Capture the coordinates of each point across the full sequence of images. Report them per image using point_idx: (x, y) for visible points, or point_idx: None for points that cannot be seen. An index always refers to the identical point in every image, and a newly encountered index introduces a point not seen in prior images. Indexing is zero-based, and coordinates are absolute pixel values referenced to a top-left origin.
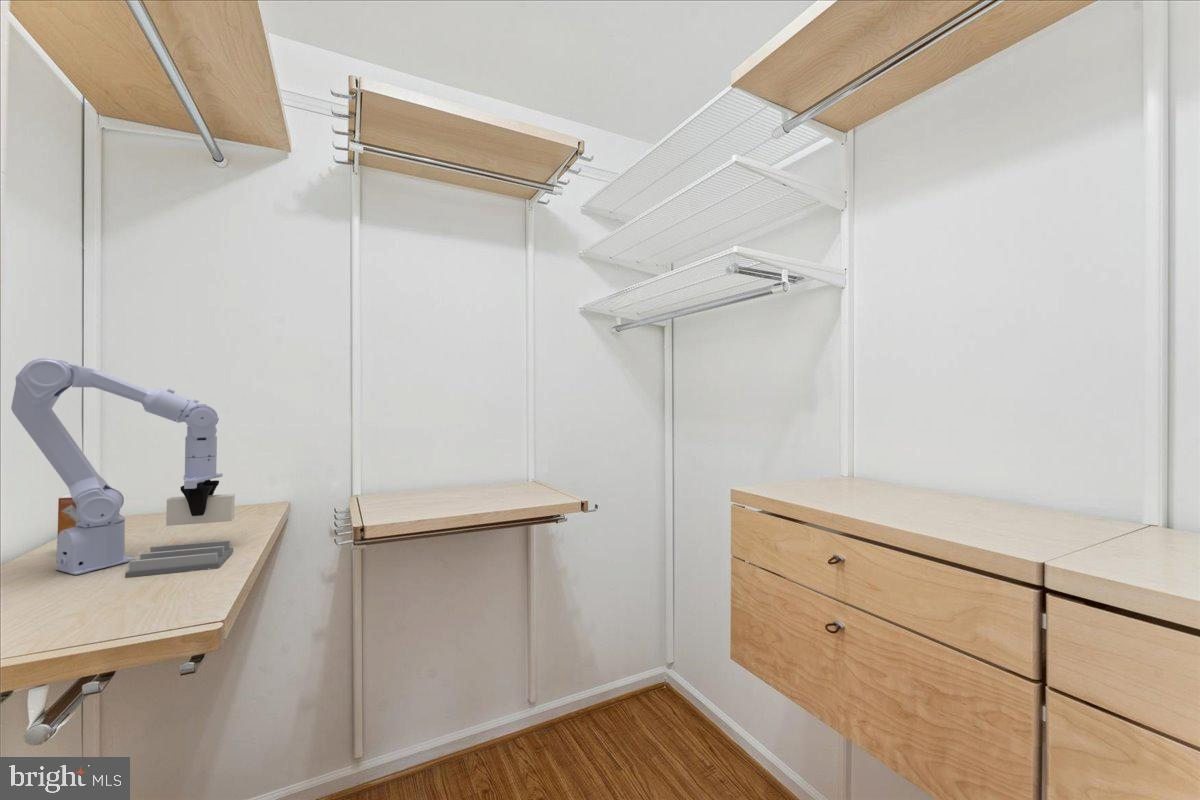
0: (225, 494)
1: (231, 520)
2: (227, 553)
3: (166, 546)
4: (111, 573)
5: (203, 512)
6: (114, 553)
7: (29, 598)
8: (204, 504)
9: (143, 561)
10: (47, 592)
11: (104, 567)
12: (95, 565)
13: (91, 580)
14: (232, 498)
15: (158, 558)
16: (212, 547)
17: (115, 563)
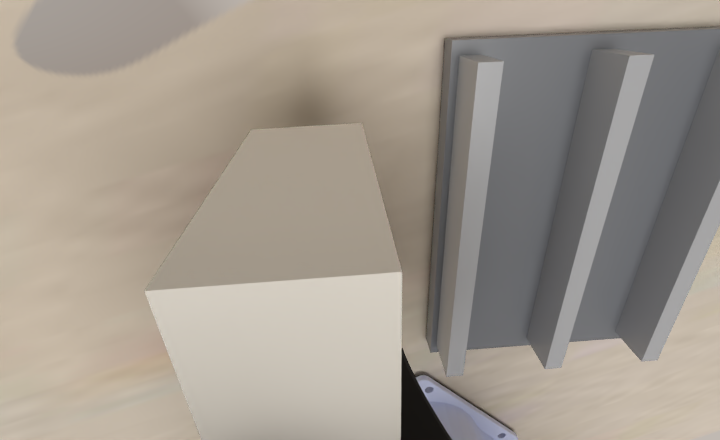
0: (199, 404)
1: (351, 124)
2: (573, 37)
3: (468, 331)
4: (540, 372)
5: (404, 362)
6: (464, 437)
7: (662, 432)
8: (443, 429)
9: (668, 324)
10: (635, 423)
11: (477, 408)
12: (480, 431)
13: (586, 387)
14: (329, 239)
15: (679, 290)
16: (623, 119)
17: (461, 400)
